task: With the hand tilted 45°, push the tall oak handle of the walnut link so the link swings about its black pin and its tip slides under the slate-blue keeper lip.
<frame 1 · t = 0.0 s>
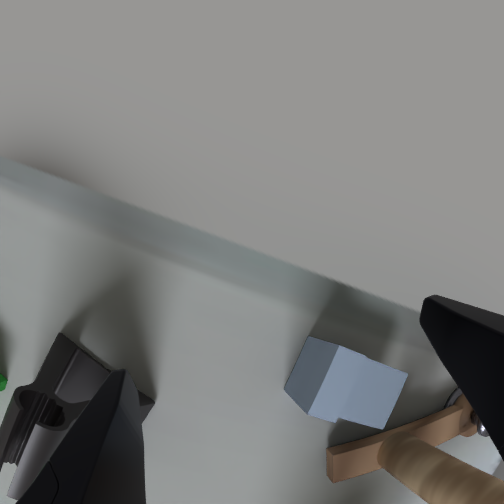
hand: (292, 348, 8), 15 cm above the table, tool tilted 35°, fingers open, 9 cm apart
keeper: (338, 369, 23), on the table
phone stand: (90, 395, 21), on the table
swing link: (466, 458, 16), point 8 cm above the table, hinge at 0.0°
pin stand: (460, 409, 24), on the table
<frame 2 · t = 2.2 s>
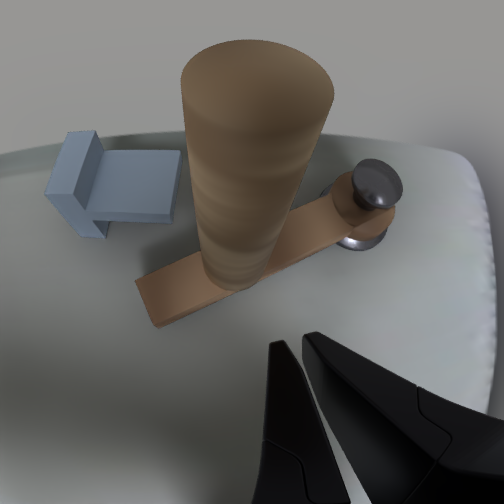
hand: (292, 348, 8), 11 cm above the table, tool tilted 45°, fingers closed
keeper: (133, 200, 22), on the table
swing link: (305, 187, 14), point 8 cm above the table, hinge at 0.0°
pin stand: (352, 215, 23), on the table
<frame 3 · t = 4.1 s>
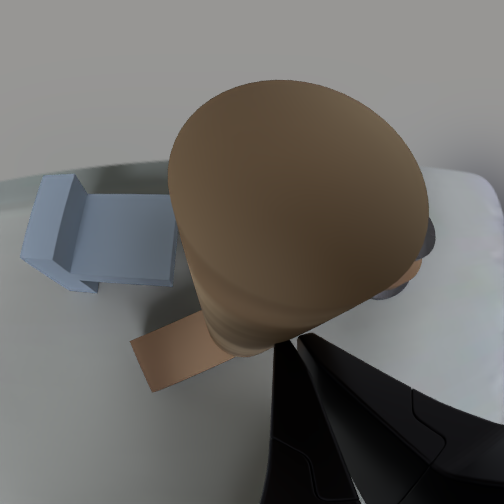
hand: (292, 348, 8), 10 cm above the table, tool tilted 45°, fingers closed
keeper: (125, 247, 19), on the table
swing link: (335, 256, 11), point 8 cm above the table, hinge at -2.3°, touching gripper
pin stand: (374, 258, 20), on the table
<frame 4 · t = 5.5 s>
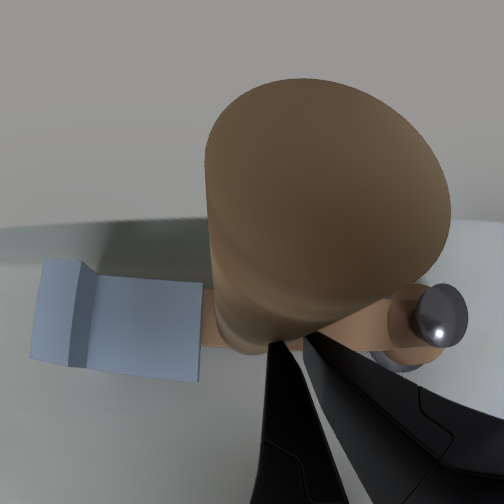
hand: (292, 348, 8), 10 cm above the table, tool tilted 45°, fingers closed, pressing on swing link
keeper: (141, 321, 17), on the table
swing link: (360, 297, 11), point 8 cm above the table, hinge at -30.7°, touching gripper
pin stand: (401, 329, 19), on the table
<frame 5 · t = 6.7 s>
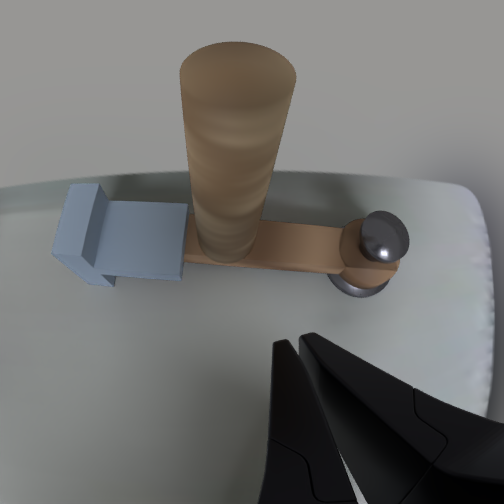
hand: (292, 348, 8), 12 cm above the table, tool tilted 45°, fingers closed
keeper: (139, 247, 22), on the table
swing link: (296, 195, 16), point 8 cm above the table, hinge at -30.8°
pin stand: (358, 261, 23), on the table
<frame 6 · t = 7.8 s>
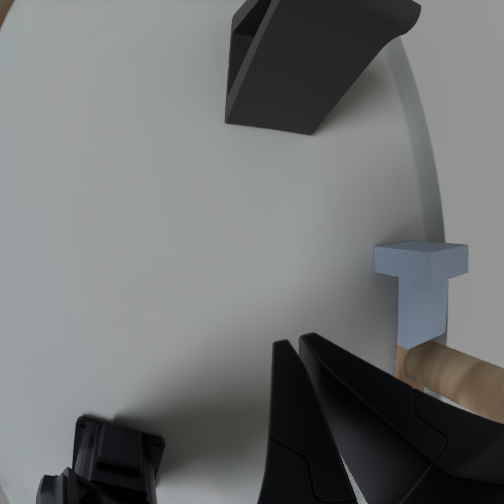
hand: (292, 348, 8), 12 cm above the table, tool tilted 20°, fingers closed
keeper: (401, 284, 25), on the table
phone stand: (268, 73, 20), on the table
swing link: (458, 416, 18), point 8 cm above the table, hinge at -30.8°
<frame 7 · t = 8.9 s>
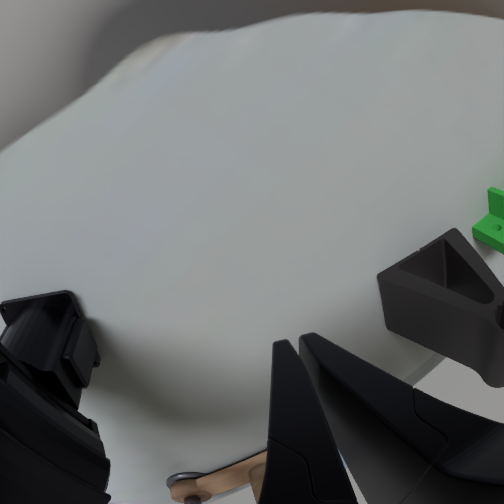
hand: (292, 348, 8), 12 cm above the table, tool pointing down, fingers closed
phone stand: (420, 276, 25), on the table
pin stand: (189, 481, 31), on the table
pipe clamp: (500, 195, 25), on the table
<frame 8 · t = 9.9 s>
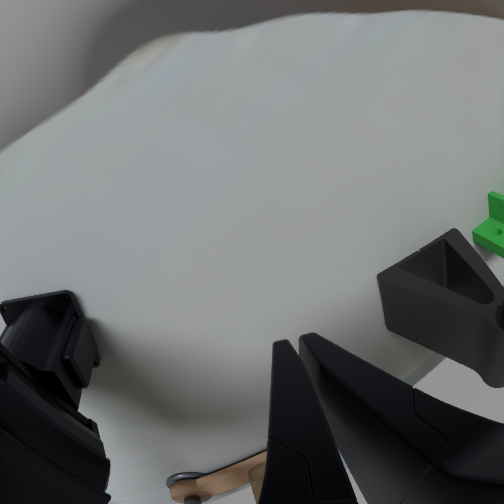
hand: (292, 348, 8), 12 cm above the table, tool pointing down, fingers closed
phone stand: (420, 276, 25), on the table
pin stand: (189, 481, 31), on the table
pipe clamp: (500, 199, 25), on the table
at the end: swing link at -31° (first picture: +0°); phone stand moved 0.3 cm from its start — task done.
